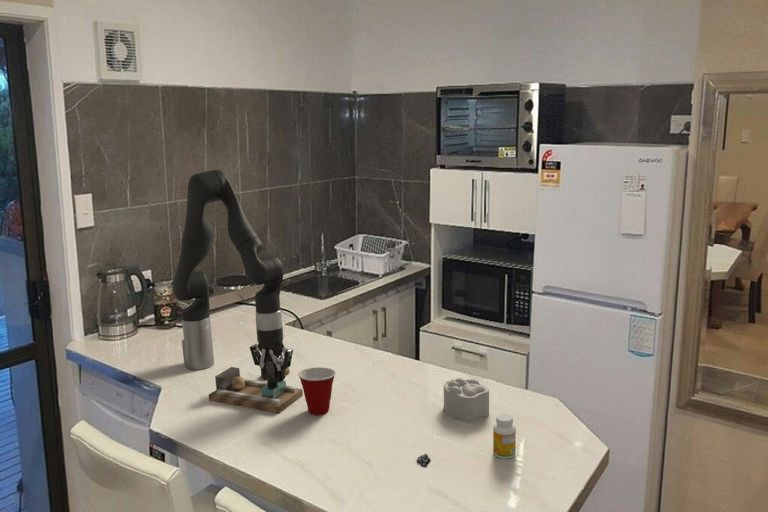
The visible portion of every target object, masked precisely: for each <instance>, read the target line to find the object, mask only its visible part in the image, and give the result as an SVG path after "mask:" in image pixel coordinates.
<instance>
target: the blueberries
mask: <svg viewBox="0 0 768 512" xmlns="http://www.w3.org/2000/svg"><path fill="white" fill-rule="evenodd" d="M431 461H432V460H431V458H430V457H429V455H428V454H427V453H423V454H422V455H421V454H420V456H418V457H417V458H416V462H417V463H418V465H420V467H424V468H427V467H428V465H429V464H430V463H431ZM436 464H437V463H435V465H436Z"/></svg>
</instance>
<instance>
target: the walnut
mask: <svg viewBox="0 0 768 512" xmlns="http://www.w3.org/2000/svg"><path fill="white" fill-rule="evenodd" d="M244 379H245V378H244V377H243V376H241V375H240V376H237V377H235V378H234V379H233V380H232V386H233V388H234V389H237V390H239V389H242V388H243V387H244V385H245V380H244Z"/></svg>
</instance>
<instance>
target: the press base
mask: <svg viewBox="0 0 768 512" xmlns="http://www.w3.org/2000/svg"><path fill="white" fill-rule="evenodd" d="M240 372H241V371H240V368H239V367H235V366H231V367H228V368H227V369H225V370H223V371H222V372H220V373H219V374H216V375H215V377H214V379H215V380H214V381H215V388H216V389H215V390H214V391H212V392H211V393H209V394H208V401H209V402H215V403H220V404H225V405H230V406H237V407H241V406H242V408H246V407H247V408H246V409H252V408H253V410H257V409H258V410H257V411H264V412H267V413H269V412H270V413H274V414H281V413H282V412H283V411H284V410H286V409H288V407H290V406H291V405H293V403H295V402H296V401H297V400H299V399H300V398H302V397H303V396H304V391H303V388H298V387H296V386H290V385H286V391H285V392H284V393H282V394H281V395H279V396H278V397H277V398H275V399H274V398H268V397H263V396H262V392H261V388H263V387H264V386H266V385H267V381H265V382H264V381H259V380H254V379H253V380H252V379H248V378H247V379H246V378H243V379H244V380H245V385H244V387H243V388H242V389H239V390H237V389H234V388H233V386H232V380H233V379H234V378H235V377H237V376H240V377H241V373H240Z"/></svg>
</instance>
